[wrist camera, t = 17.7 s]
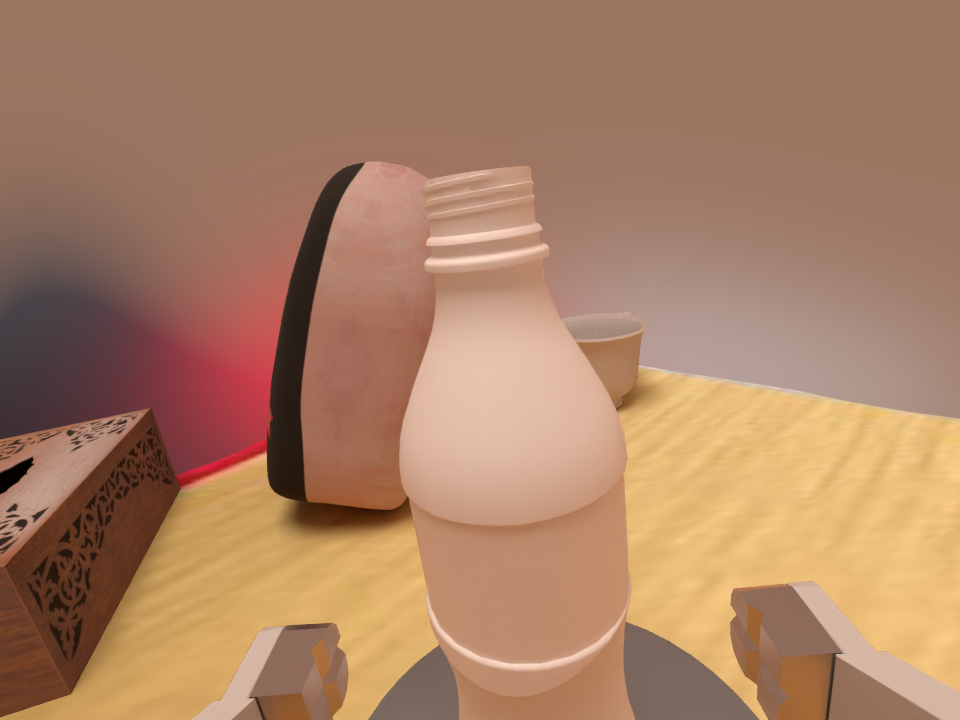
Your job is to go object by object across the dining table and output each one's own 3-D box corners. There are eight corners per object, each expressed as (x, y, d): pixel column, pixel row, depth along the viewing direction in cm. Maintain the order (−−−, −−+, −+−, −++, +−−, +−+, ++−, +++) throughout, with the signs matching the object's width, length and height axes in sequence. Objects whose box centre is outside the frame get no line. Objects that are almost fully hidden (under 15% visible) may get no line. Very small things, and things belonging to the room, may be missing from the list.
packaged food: (320, 442, 61) (255, 188, 52) (476, 417, 62) (439, 164, 53) (261, 563, 40) (136, 174, 31) (498, 523, 41) (444, 134, 32)
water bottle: (453, 748, 23) (338, 198, 16) (589, 693, 25) (544, 172, 17) (503, 958, 17) (345, 179, 9) (683, 863, 18) (676, 140, 11)
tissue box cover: (72, 697, 31) (4, 566, 28) (-230, 797, 27) (-346, 658, 24) (181, 490, 54) (151, 407, 51) (27, 529, 51) (-15, 442, 48)
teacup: (678, 386, 63) (678, 310, 60) (617, 433, 53) (612, 345, 50) (597, 372, 71) (593, 305, 68) (531, 410, 62) (523, 334, 59)
